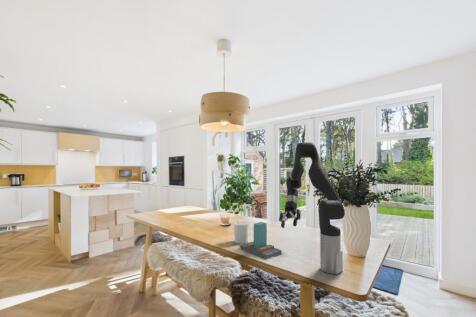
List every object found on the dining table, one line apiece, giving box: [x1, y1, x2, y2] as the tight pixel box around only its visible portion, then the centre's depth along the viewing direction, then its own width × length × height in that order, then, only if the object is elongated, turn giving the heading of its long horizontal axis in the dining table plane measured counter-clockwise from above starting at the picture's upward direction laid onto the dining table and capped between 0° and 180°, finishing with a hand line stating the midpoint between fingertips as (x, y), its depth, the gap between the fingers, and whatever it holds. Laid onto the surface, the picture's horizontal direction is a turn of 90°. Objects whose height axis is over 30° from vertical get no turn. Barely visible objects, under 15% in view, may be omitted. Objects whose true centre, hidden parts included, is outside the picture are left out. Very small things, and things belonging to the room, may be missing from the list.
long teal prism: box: [253, 221, 268, 249], centre depth 144 cm, size 4×6×14 cm
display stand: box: [239, 240, 282, 260], centre depth 143 cm, size 22×12×4 cm, turn 41°
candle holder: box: [233, 221, 250, 245], centre depth 161 cm, size 10×10×12 cm
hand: (288, 226), depth 150 cm, fingers open, 8 cm apart
